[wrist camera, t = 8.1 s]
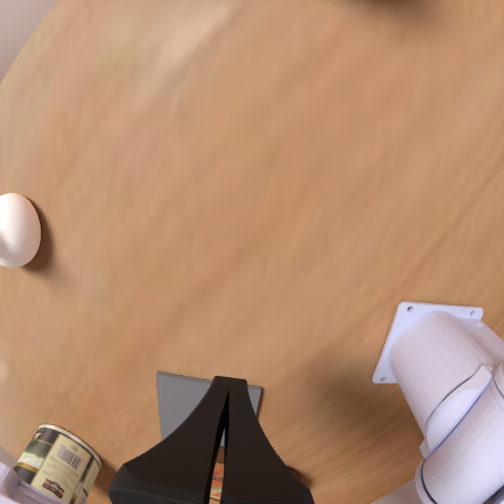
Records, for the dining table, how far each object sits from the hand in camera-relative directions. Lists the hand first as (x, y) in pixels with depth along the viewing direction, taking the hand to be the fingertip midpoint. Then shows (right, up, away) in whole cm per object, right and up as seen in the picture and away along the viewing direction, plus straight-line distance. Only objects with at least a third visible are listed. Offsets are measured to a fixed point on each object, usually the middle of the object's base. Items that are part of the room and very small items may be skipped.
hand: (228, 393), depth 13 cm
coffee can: (-24, -21, +18) cm, 37 cm away
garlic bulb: (-19, +8, +9) cm, 23 cm away
